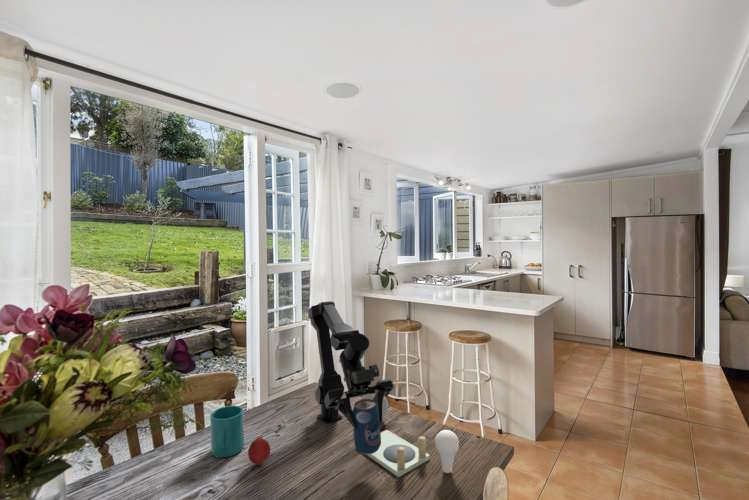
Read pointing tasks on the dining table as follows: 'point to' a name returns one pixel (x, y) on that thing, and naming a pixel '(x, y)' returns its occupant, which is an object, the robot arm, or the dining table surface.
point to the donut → (384, 404)
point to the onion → (259, 451)
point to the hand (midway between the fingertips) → (368, 424)
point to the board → (393, 466)
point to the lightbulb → (447, 448)
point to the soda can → (367, 426)
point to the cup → (227, 431)
